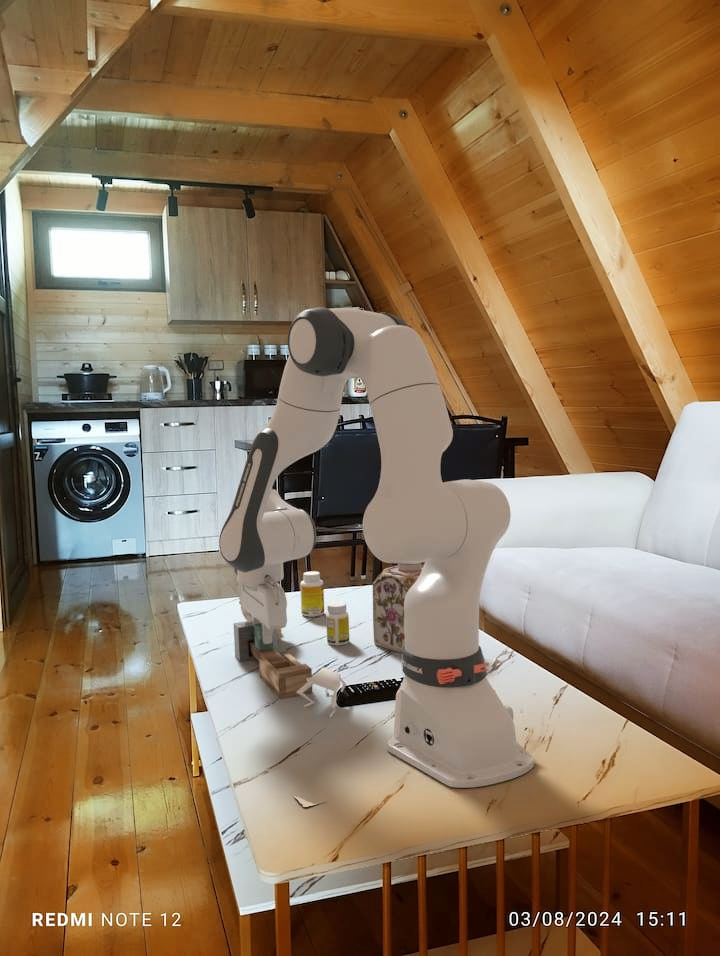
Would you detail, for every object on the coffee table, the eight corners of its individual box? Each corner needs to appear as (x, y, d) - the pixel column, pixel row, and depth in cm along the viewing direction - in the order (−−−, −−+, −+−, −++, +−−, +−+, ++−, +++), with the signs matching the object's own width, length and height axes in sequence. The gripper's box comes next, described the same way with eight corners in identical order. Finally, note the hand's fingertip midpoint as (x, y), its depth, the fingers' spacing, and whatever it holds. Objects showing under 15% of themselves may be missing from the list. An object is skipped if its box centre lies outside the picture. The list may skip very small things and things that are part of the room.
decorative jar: (372, 645, 164) (369, 561, 162) (411, 632, 171) (409, 552, 170) (412, 658, 155) (410, 569, 153) (452, 644, 163) (450, 559, 161)
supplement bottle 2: (350, 639, 168) (349, 601, 167) (348, 646, 163) (346, 607, 163) (328, 639, 169) (327, 601, 168) (325, 646, 164) (324, 607, 163)
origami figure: (289, 700, 135) (288, 673, 135) (333, 690, 139) (332, 664, 139) (318, 725, 125) (317, 695, 124) (364, 714, 129) (364, 685, 128)
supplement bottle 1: (326, 616, 186) (325, 574, 185) (303, 618, 185) (301, 576, 184) (322, 610, 191) (320, 569, 190) (299, 612, 190) (298, 571, 189)
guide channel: (312, 692, 138) (311, 668, 138) (280, 699, 136) (279, 674, 135) (290, 671, 149) (289, 649, 149) (260, 677, 147) (259, 654, 146)
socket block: (277, 655, 159) (276, 621, 158) (239, 661, 156) (238, 627, 155) (272, 650, 162) (271, 617, 161) (235, 656, 159) (233, 623, 158)
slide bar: (288, 672, 145) (286, 637, 145) (272, 675, 144) (271, 639, 143) (262, 648, 160) (261, 616, 159) (248, 650, 159) (247, 618, 158)
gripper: (293, 579, 144) (296, 652, 145) (260, 559, 162) (263, 624, 164) (260, 583, 141) (264, 657, 143) (231, 563, 160) (234, 628, 161)
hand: (263, 639), depth 153 cm, fingers closed on slide bar, 3 cm apart
